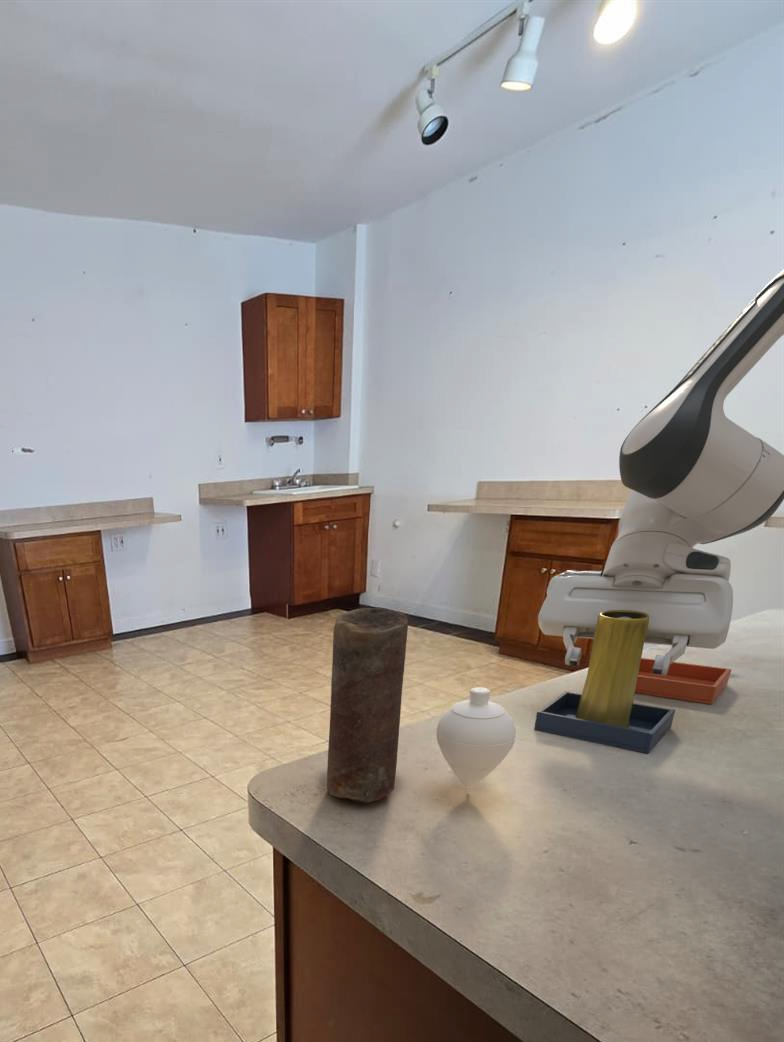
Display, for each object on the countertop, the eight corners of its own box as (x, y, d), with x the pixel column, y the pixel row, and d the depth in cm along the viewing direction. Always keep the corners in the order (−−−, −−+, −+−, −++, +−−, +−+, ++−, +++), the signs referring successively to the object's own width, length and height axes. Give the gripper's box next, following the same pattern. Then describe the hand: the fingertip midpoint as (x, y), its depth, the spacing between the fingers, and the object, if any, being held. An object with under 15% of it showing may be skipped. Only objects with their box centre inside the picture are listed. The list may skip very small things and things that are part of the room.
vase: (586, 713, 86) (607, 607, 80) (636, 723, 82) (662, 612, 76) (566, 725, 83) (585, 616, 77) (617, 737, 79) (642, 622, 72)
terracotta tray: (726, 685, 93) (731, 668, 92) (711, 704, 87) (716, 687, 86) (626, 671, 102) (629, 656, 101) (605, 688, 96) (609, 672, 95)
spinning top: (438, 774, 74) (447, 675, 69) (509, 784, 71) (525, 681, 65) (424, 803, 68) (433, 697, 63) (502, 816, 65) (518, 705, 59)
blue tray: (670, 728, 81) (675, 709, 80) (648, 753, 75) (653, 734, 74) (562, 708, 90) (565, 691, 89) (533, 729, 84) (536, 711, 83)
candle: (405, 787, 72) (418, 609, 63) (382, 816, 66) (392, 625, 58) (342, 774, 76) (346, 605, 67) (315, 800, 70) (316, 620, 62)
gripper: (552, 556, 85) (521, 645, 82) (748, 559, 73) (719, 664, 70) (554, 584, 90) (526, 669, 87) (739, 591, 78) (711, 691, 75)
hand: (613, 667), depth 78 cm, fingers open, 8 cm apart
